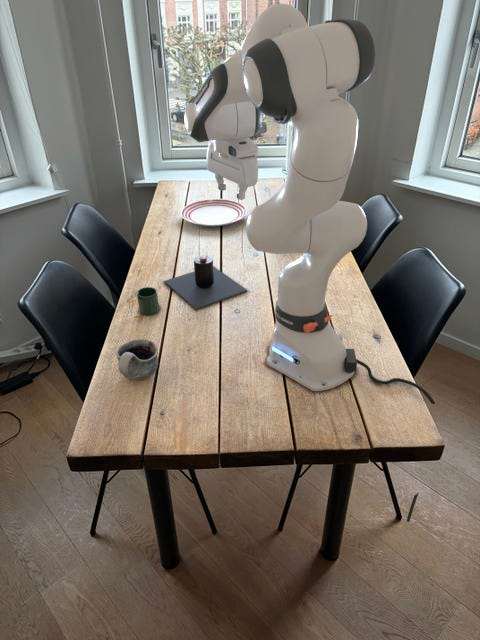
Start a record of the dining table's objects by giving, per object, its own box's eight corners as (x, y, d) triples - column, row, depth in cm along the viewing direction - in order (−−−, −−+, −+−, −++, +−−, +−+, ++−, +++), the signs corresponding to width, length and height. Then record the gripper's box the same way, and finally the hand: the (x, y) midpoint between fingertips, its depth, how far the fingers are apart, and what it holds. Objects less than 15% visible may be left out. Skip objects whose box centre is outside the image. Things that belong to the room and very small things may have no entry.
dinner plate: (241, 232, 182) (241, 224, 181) (173, 229, 186) (172, 221, 184) (251, 207, 205) (251, 200, 203) (190, 204, 209) (189, 197, 207)
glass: (162, 311, 137) (160, 293, 133) (144, 317, 134) (142, 299, 131) (153, 302, 140) (151, 285, 137) (136, 308, 138) (133, 290, 134)
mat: (246, 291, 145) (246, 289, 145) (196, 310, 137) (196, 308, 136) (212, 267, 159) (212, 265, 159) (164, 282, 151) (164, 281, 150)
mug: (164, 361, 117) (159, 328, 112) (155, 396, 107) (149, 361, 101) (125, 361, 118) (119, 328, 112) (112, 395, 107) (105, 361, 102)
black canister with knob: (215, 288, 146) (213, 260, 140) (196, 290, 145) (194, 262, 140) (213, 279, 150) (211, 252, 145) (194, 281, 150) (192, 253, 144)
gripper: (199, 137, 131) (202, 186, 138) (242, 152, 117) (242, 207, 124) (218, 134, 134) (220, 182, 141) (262, 149, 120) (261, 202, 127)
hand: (231, 194), depth 133 cm, fingers open, 8 cm apart
